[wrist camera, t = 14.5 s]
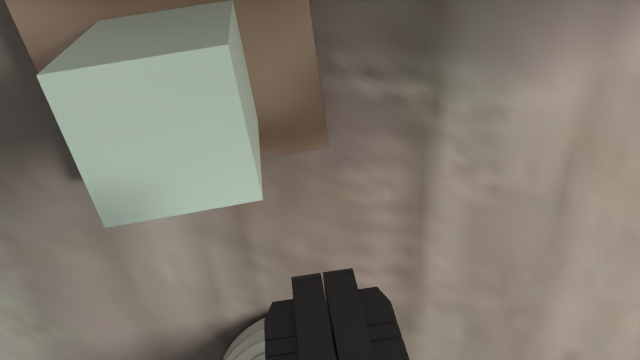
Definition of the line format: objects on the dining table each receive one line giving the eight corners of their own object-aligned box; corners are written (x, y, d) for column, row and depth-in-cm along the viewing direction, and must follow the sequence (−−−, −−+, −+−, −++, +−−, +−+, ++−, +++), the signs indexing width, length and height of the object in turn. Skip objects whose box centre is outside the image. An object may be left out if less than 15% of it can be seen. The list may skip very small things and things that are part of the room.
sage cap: (98, 20, 20) (36, 75, 14) (232, -1, 20) (228, 44, 14) (141, 140, 23) (104, 228, 17) (257, 120, 23) (262, 199, 17)
